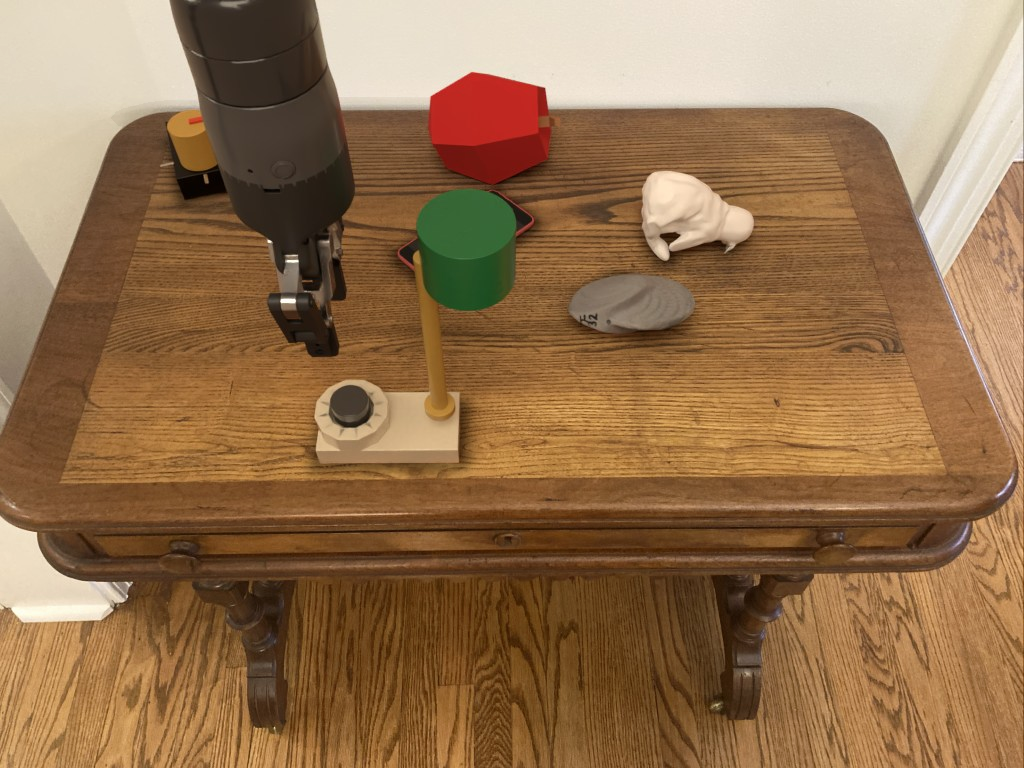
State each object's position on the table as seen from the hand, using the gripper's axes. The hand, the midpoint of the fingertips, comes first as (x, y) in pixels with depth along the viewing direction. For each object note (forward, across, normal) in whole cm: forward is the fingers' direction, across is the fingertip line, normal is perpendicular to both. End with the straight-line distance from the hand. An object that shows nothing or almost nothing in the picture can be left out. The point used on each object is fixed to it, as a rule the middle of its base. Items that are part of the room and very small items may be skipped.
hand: (328, 324), depth 63 cm
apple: (+15, -36, +11) cm, 41 cm away
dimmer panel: (+15, -35, -19) cm, 43 cm away
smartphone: (+15, -24, +9) cm, 30 cm away
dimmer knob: (+12, -33, -19) cm, 40 cm away
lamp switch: (+12, 0, 0) cm, 12 cm away
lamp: (+11, 0, +10) cm, 15 cm away
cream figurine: (+16, -23, +33) cm, 43 cm away
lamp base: (+15, 0, +3) cm, 16 cm away
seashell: (+16, -14, +25) cm, 33 cm away
